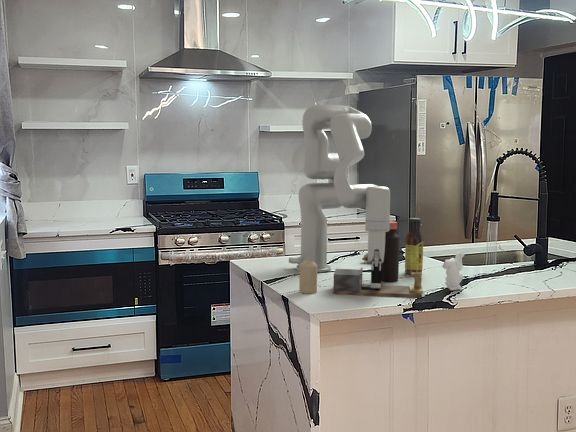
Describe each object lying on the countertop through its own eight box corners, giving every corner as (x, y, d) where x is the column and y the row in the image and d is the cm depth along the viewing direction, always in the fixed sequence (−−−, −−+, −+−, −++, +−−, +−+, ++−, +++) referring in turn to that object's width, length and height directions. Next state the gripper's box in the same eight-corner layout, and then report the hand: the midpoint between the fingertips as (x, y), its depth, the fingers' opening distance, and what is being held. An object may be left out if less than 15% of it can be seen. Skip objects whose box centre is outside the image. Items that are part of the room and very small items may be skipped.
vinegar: (385, 283, 225) (387, 223, 222) (374, 279, 231) (375, 221, 228) (402, 281, 228) (404, 222, 226) (390, 277, 234) (392, 220, 232)
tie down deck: (333, 294, 209) (333, 273, 208) (335, 286, 220) (336, 266, 219) (423, 297, 205) (424, 276, 204) (421, 289, 216) (422, 269, 215)
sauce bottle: (422, 275, 237) (424, 219, 235) (404, 274, 238) (406, 219, 236) (422, 272, 244) (424, 217, 241) (404, 271, 245) (406, 217, 242)
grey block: (337, 287, 212) (337, 264, 211) (338, 284, 216) (338, 262, 215) (380, 289, 210) (381, 266, 209) (380, 286, 214) (381, 263, 213)
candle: (298, 289, 214) (298, 258, 213) (315, 289, 214) (316, 258, 213) (300, 294, 208) (300, 262, 207) (317, 293, 209) (318, 262, 208)
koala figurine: (457, 286, 222) (458, 250, 220) (471, 290, 216) (473, 253, 214) (436, 288, 218) (438, 251, 216) (450, 292, 212) (452, 255, 210)
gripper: (366, 222, 219) (365, 274, 221) (364, 229, 202) (363, 285, 204) (389, 222, 218) (388, 274, 220) (389, 229, 201) (388, 286, 203)
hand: (376, 279), depth 212 cm, fingers open, 9 cm apart
